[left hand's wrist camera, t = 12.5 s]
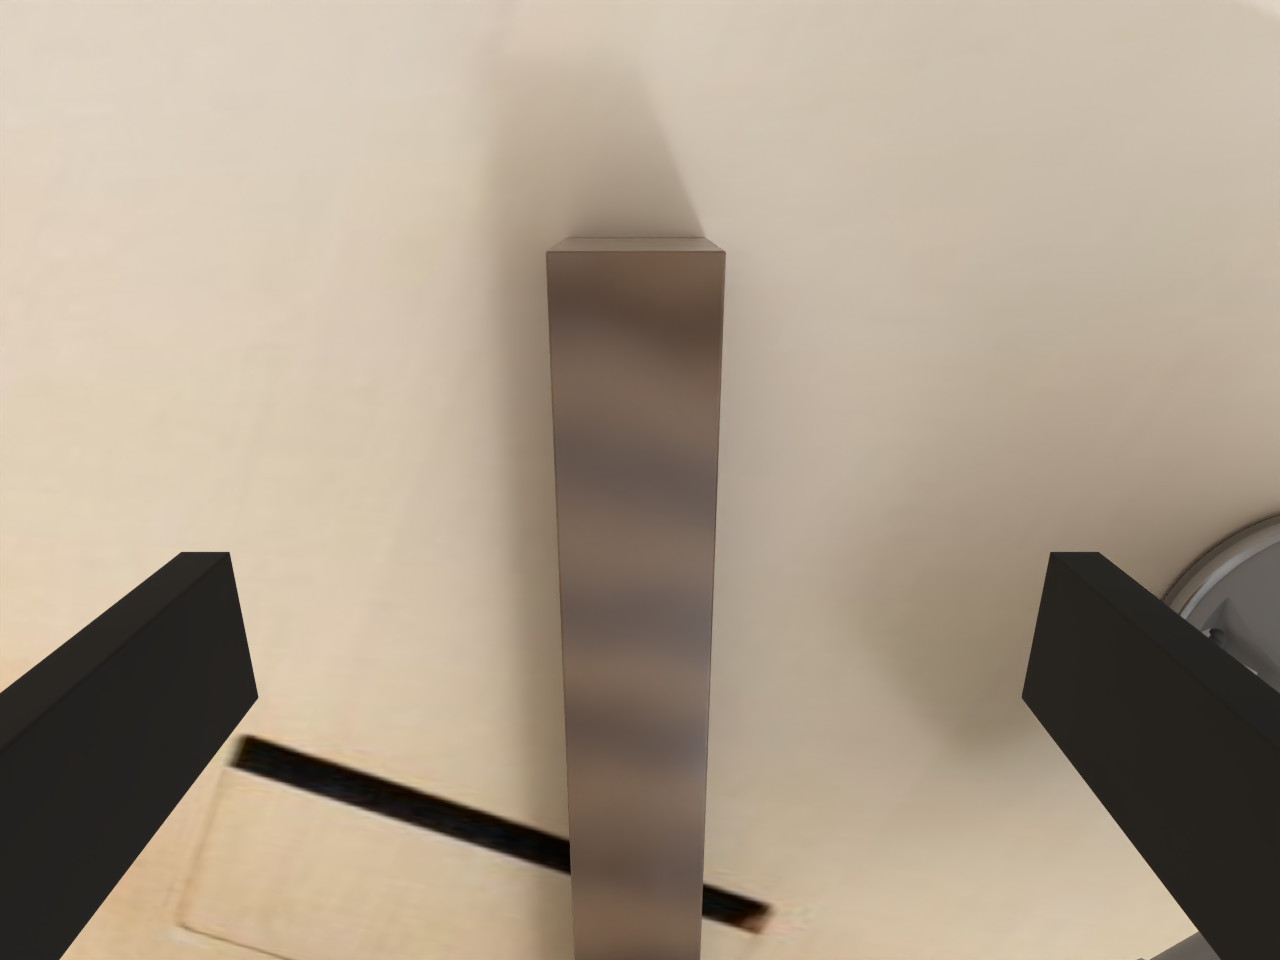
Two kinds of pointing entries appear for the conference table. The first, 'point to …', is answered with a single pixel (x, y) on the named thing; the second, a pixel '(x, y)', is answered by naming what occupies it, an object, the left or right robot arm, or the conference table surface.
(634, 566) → the post
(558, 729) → the conference table surface
